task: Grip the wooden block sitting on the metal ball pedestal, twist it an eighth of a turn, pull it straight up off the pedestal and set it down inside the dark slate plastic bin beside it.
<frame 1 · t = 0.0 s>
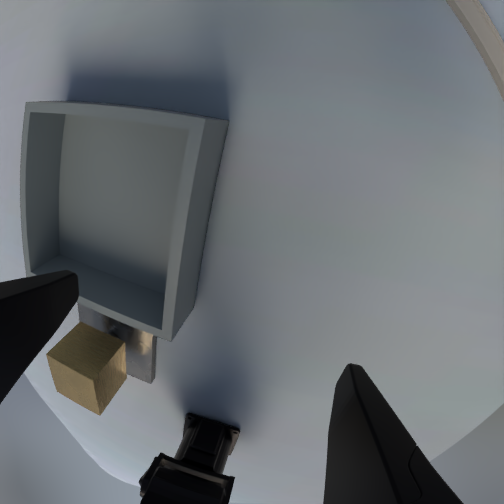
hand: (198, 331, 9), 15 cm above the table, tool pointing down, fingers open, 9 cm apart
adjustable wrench: (502, 71, 15), on the table
metal ball pedestal: (118, 334, 30), on the table
wooden block: (103, 350, 27), point 3 cm above the table, touching metal ball pedestal
bin: (121, 200, 24), on the table
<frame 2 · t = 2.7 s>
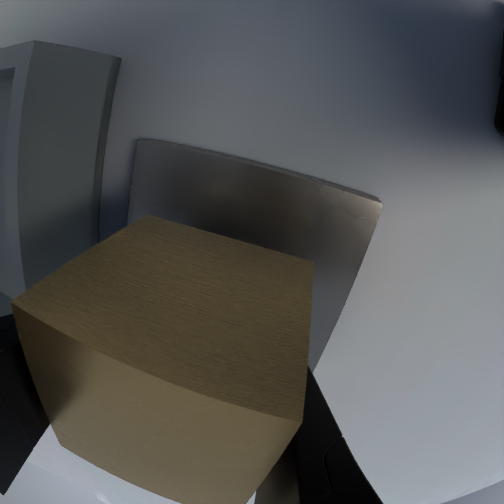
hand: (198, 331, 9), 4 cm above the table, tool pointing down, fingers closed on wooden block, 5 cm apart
metal ball pedestal: (233, 270, 13), on the table
wooden block: (211, 309, 10), point 3 cm above the table, touching metal ball pedestal, gripper
bin: (6, 196, 14), on the table
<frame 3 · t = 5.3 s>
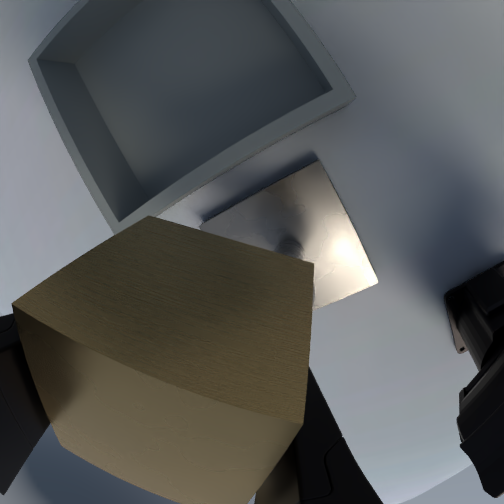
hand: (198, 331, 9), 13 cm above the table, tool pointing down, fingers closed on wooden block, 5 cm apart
metal ball pedestal: (291, 249, 22), on the table
wooden block: (212, 310, 10), point 12 cm above the table, touching gripper
bin: (183, 69, 18), on the table
when the fingers open (4 cm above the table, at t = 8.0 s): wooden block drops 3 cm, resting on bin.
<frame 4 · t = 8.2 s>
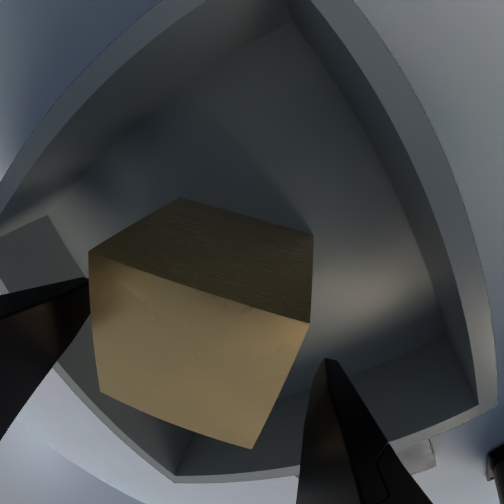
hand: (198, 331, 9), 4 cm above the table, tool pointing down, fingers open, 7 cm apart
metal ball pedestal: (358, 449, 16), on the table
wooden block: (230, 276, 13), point 1 cm above the table, touching bin
bin: (234, 268, 13), on the table
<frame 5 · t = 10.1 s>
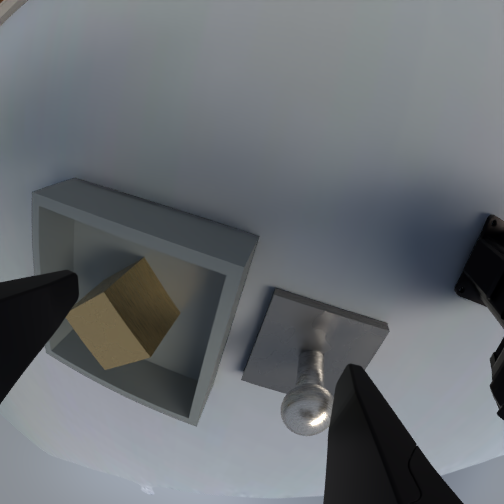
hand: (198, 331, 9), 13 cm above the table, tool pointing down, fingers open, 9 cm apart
metal ball pedestal: (311, 351, 24), on the table
wooden block: (139, 296, 24), point 1 cm above the table, touching bin
bin: (142, 292, 25), on the table
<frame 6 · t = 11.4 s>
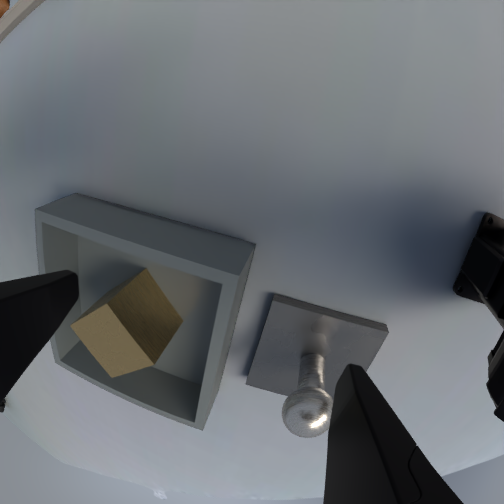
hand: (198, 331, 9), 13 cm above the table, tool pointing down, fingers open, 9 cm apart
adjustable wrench: (26, 8, 18), on the table
metal ball pedestal: (313, 354, 24), on the table
wooden block: (143, 305, 25), point 1 cm above the table, touching bin
bin: (146, 301, 26), on the table
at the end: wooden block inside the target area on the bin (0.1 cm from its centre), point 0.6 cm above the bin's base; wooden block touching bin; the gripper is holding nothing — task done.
